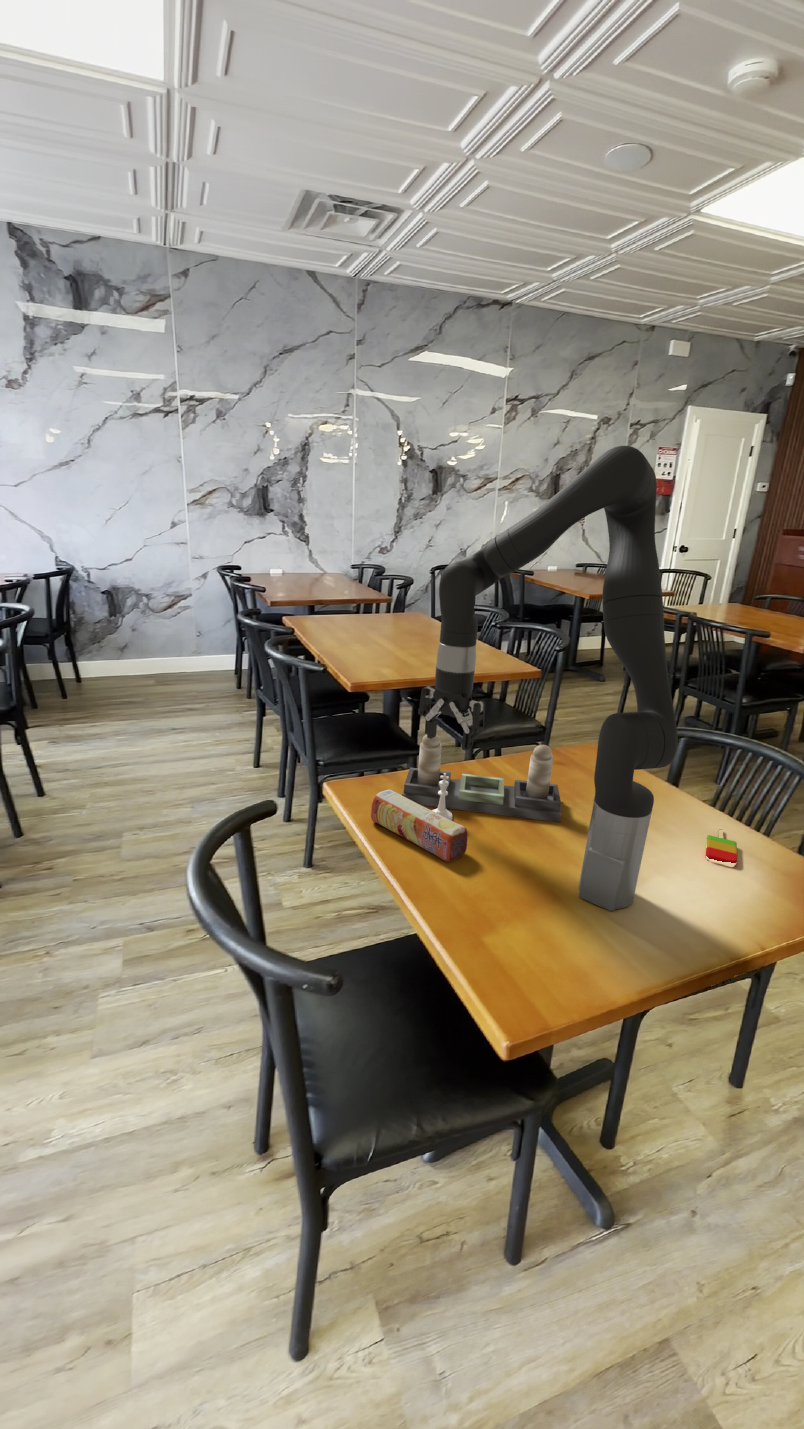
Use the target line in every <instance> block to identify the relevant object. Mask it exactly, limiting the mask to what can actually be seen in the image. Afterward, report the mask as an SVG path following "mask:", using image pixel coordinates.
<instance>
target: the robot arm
mask: <svg viewBox="0 0 804 1429" xmlns="http://www.w3.org/2000/svg"><path fill="white" fill-rule="evenodd" d="M657 481H658V480H657V477H656V472H655V470H654V468H653V466H652V465H651V463H650V462H649V461H648V459H647V457H646V456H645V455H644V454H643V452H642V451H640V450H639V449H638V448H636V447H635V446H630V445H618V446H614V447H612V448H610V449H608V450H606V451H605V452H604V453H602V454H600V456H598V457H597V458H596V459H595V460H593V461H592V463H590V464H589V465H587V467H586V468H585V469H583V470H582V471H581V472H580V473H579V474H578V475H577V476H575V477H574V478H573V479H572V480H571V481H570V482H569V483H567V484H566V485H565V486H563V488H561V489H560V490H559V491H558V492H557V493H555V495H553V496H552V497H551V498H549V499H548V500H547V501H546V502H545V503H543V504H541V505H540V506H539V507H538V508H536V509H535V510H534V511H533V512H531V513H530V514H528V515H527V516H526V517H523V518H522V519H521V520H519V521H518V522H516V523H514V524H513V525H511V526H510V527H508V528H507V529H506V530H504V531H503V532H501V533H499V534H498V535H496V536H494V537H493V538H492V539H491V540H489V541H488V542H486V544H485V546H484V547H483V548H482V549H479V550H477V551H476V552H475V553H473V554H471V555H470V556H468V557H466V558H465V559H463V560H459V561H456V562H455V561H454V562H453V563H450V564H448V565H447V566H446V567H445V568H443V571H442V573H441V576H440V579H439V585H438V586H439V587H438V596H439V598H438V599H439V609H440V616H441V622H440V633H439V634H440V635H439V642H438V648H437V653H436V665H435V675H434V676H435V677H434V687H433V686H432V685H429V686H425V687H422V688H421V691H420V692H421V693H420V698H419V705H418V707H419V708H418V715H419V716H421V717H422V716H423V717H424V718H425V720H426V726H425V735H427V738H430V739H432V738H434V737H435V736H436V734H437V731H438V730H437V729H438V728H437V727H438V719H437V718H438V717H439V715H444V716H449V717H451V718H454V719H456V721H457V723H458V724H460V726H461V727H462V729H463V733H462V743H461V750H463V751H465V752H466V751H467V750H469V749H471V748H472V747H473V745H474V740H475V739H474V737H475V734H476V733H478V732H481V731H483V730H485V718H486V701H485V700H480V701H476V700H473V699H472V693H473V692H472V691H473V689H474V680H475V670H476V661H477V638H478V630H479V629H478V627H479V622H478V621H479V620H478V617H477V616H476V614H475V596H477V595H479V594H481V593H483V592H485V591H486V590H488V589H489V588H490V587H492V586H494V585H495V584H496V583H497V582H499V581H500V580H501V579H502V578H504V577H506V576H509V575H511V574H512V573H515V572H516V571H518V570H520V569H521V568H523V567H524V566H526V565H528V564H529V563H531V562H533V561H534V560H536V559H537V558H538V557H541V555H543V553H545V552H546V551H547V550H549V549H550V548H551V547H552V546H553V545H554V544H555V543H556V542H557V541H558V540H559V538H561V537H562V536H563V535H564V533H566V531H568V530H569V529H570V528H571V527H572V526H574V525H575V524H577V523H578V522H580V521H581V520H582V519H584V518H586V517H588V516H590V515H592V514H593V513H595V512H598V511H600V510H602V509H604V513H605V514H604V515H605V518H606V523H607V524H606V525H607V532H608V542H609V547H608V548H609V551H608V552H609V553H608V558H607V564H606V568H605V574H604V579H603V586H602V598H601V599H602V618H603V629H604V630H603V631H604V635H605V637H606V639H607V642H608V644H609V646H610V647H611V649H612V650H613V653H614V654H615V655H616V657H617V658H618V660H619V661H620V663H621V664H622V665H623V667H624V669H625V671H626V672H627V673H628V674H627V675H628V676H629V677H630V679H631V683H632V686H633V688H634V689H633V690H634V693H635V699H636V707H637V709H636V710H637V711H633V712H632V711H631V712H630V711H628V712H617V713H615V712H614V713H612V714H610V715H608V716H607V717H606V718H605V719H604V721H603V723H602V725H601V727H600V731H599V735H598V741H597V748H596V749H597V750H596V757H595V758H596V759H595V766H594V775H593V776H594V777H593V780H594V782H593V784H594V792H595V793H594V800H593V805H592V810H591V815H590V820H589V827H588V831H587V832H588V833H587V838H586V844H585V850H584V854H583V860H582V867H581V871H580V872H581V873H580V879H579V884H578V890H579V893H578V898H580V899H583V900H585V901H588V902H589V903H592V904H594V905H596V906H599V907H601V908H603V909H605V910H608V911H609V912H615V910H618V909H624V908H627V907H629V906H631V905H632V904H633V901H634V899H635V894H636V890H637V885H638V884H637V883H638V878H639V874H640V871H641V870H640V869H641V864H642V859H643V857H644V856H643V855H644V850H645V845H646V842H647V841H646V840H647V837H648V831H649V826H650V822H651V816H652V813H653V807H654V803H655V802H654V801H655V797H654V794H653V791H652V790H650V789H649V788H647V787H646V786H645V785H643V784H641V783H639V782H636V781H634V776H635V774H634V773H635V771H638V770H640V771H641V770H652V769H661V768H662V769H663V768H666V767H667V766H669V765H670V764H671V763H672V762H673V760H674V759H675V757H676V754H677V750H678V740H679V739H678V728H677V727H678V726H677V721H676V714H675V709H674V702H673V696H672V690H671V686H670V680H669V670H668V663H667V653H666V651H667V650H666V640H665V638H666V637H665V614H664V612H665V611H664V600H663V597H664V596H663V590H662V589H663V588H662V581H661V580H662V579H661V571H660V564H659V558H658V551H657V547H656V546H657V545H656V535H655V534H656V508H657V506H656V504H657V489H658V488H657V486H658V484H657ZM433 699H434V701H435V704H434V705H433V706H432V702H433ZM470 708H471V709H470ZM463 715H464V716H463Z"/></svg>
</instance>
